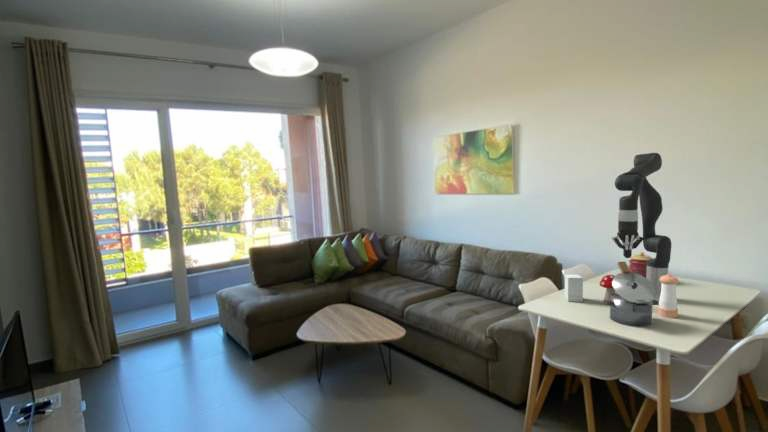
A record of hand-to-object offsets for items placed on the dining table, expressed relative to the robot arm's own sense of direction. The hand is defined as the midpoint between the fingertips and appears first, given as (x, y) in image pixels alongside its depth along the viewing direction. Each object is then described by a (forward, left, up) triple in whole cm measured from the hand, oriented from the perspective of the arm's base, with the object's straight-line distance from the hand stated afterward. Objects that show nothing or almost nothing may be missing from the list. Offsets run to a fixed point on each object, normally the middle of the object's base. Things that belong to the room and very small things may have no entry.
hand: (627, 257), depth 180 cm
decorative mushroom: (-1, -18, -28) cm, 33 cm away
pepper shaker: (-19, -2, -28) cm, 34 cm away
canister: (-37, -61, -28) cm, 77 cm away
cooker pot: (0, +5, -28) cm, 28 cm away
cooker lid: (0, +3, -11) cm, 11 cm away
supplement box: (+14, -26, -28) cm, 41 cm away
